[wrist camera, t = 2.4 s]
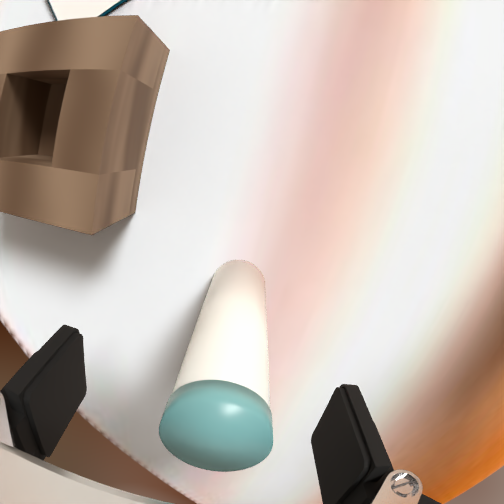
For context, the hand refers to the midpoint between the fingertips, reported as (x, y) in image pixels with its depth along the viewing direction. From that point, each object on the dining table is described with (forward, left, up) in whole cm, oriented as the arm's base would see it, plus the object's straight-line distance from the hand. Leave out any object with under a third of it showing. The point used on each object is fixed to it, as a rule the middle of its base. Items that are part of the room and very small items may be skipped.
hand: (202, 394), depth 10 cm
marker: (-1, 0, -10) cm, 10 cm away
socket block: (+11, -8, -10) cm, 17 cm away
